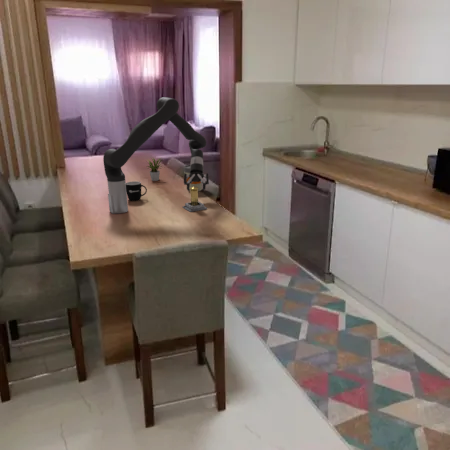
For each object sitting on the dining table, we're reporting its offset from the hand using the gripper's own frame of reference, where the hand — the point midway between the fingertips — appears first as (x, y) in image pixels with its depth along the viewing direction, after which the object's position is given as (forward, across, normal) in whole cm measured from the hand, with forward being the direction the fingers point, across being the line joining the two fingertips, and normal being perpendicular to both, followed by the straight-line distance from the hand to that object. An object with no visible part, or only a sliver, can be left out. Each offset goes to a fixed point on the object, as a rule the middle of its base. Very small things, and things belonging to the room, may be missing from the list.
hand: (196, 190), depth 246 cm
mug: (0, -36, +11) cm, 37 cm away
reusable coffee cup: (-16, -4, +27) cm, 32 cm away
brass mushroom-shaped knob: (+13, 0, -4) cm, 13 cm away
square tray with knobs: (+13, 0, -3) cm, 14 cm away
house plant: (-37, -32, +48) cm, 69 cm away
